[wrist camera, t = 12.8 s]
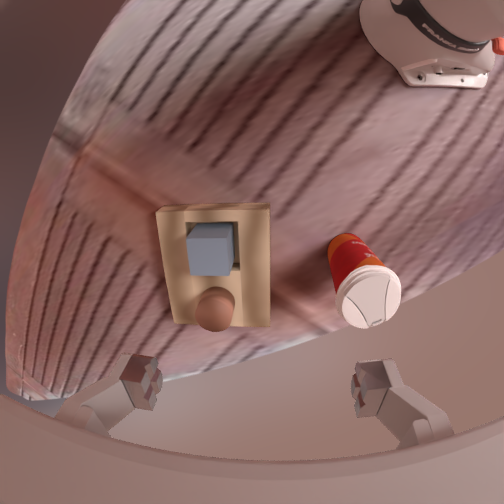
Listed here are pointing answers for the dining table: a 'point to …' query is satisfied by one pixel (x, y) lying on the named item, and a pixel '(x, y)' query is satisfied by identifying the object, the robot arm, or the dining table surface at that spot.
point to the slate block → (211, 249)
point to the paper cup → (362, 283)
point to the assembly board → (218, 287)
